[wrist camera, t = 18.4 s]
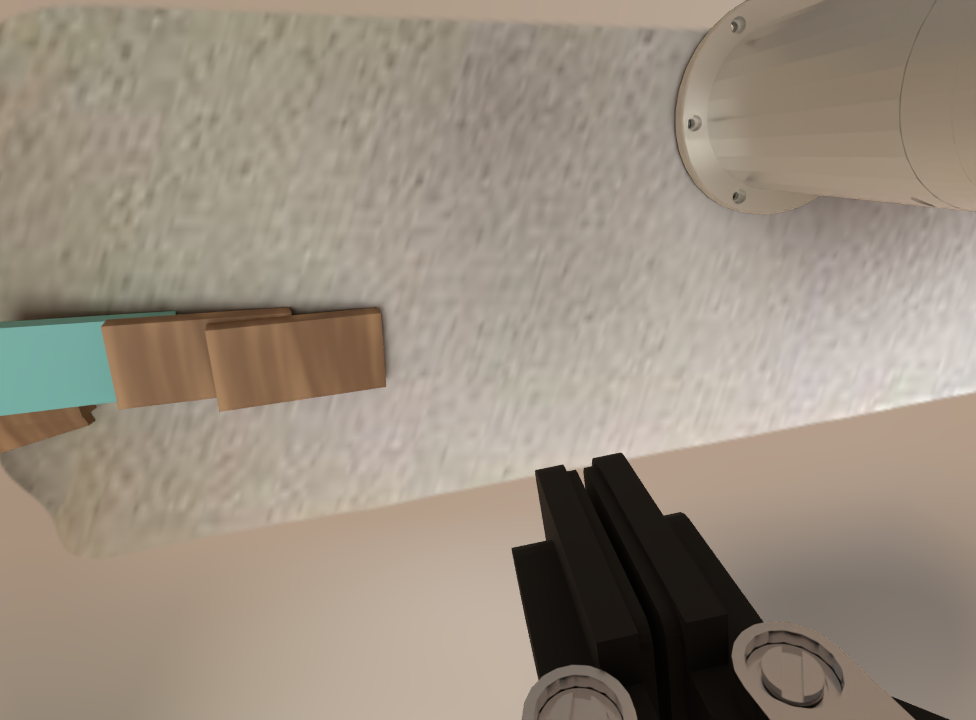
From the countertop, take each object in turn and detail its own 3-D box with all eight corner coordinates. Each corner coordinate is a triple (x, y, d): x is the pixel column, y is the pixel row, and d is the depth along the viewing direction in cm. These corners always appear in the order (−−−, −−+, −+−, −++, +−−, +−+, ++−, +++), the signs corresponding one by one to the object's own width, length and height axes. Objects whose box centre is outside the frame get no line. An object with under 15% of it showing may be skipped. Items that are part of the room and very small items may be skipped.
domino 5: (45, 357, 34) (-109, 405, 34) (89, 425, 36) (-57, 471, 36) (60, 348, 36) (-87, 394, 36) (102, 414, 38) (-38, 458, 38)
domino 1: (381, 313, 35) (204, 331, 31) (386, 386, 37) (219, 411, 33) (375, 307, 36) (206, 323, 33) (380, 378, 38) (220, 401, 34)
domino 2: (291, 312, 34) (100, 326, 31) (298, 387, 36) (118, 409, 32) (289, 306, 36) (106, 319, 32) (296, 379, 37) (123, 399, 34)
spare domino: (186, 385, 37) (-9, 407, 32) (175, 310, 35) (-31, 323, 31) (185, 393, 35) (-18, 418, 31) (174, 316, 34) (-42, 331, 29)
